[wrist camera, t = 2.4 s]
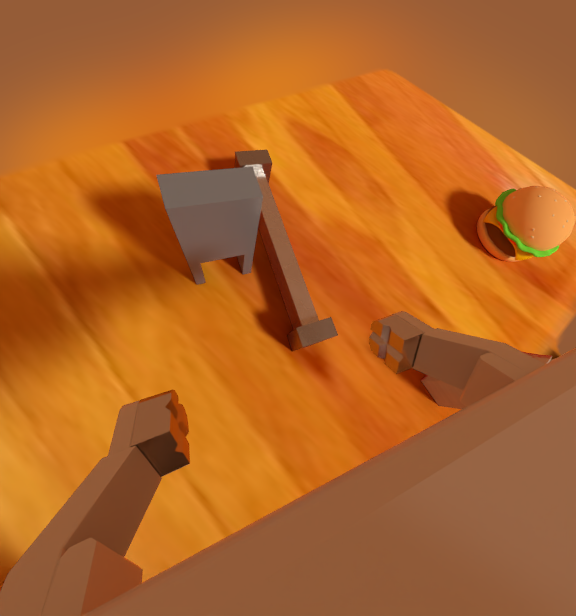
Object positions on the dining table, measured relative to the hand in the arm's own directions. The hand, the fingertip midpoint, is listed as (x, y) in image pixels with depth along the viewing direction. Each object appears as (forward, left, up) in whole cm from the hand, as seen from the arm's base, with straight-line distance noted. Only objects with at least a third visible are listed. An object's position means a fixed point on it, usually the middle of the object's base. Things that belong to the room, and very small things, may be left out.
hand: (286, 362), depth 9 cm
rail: (-4, +14, -17) cm, 23 cm away
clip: (-9, +9, -17) cm, 21 cm away
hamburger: (+28, +38, -18) cm, 50 cm away
